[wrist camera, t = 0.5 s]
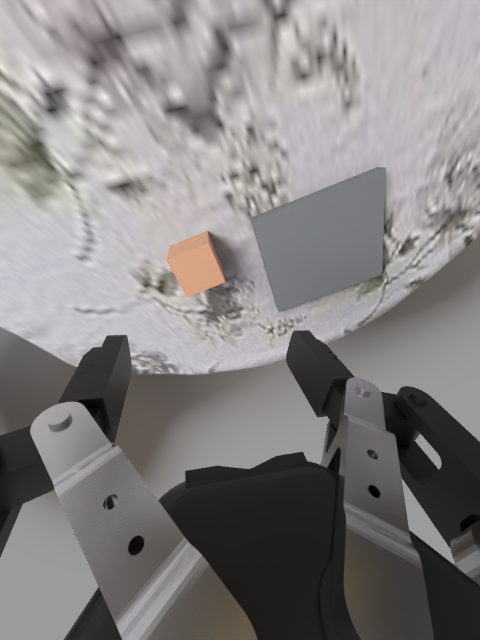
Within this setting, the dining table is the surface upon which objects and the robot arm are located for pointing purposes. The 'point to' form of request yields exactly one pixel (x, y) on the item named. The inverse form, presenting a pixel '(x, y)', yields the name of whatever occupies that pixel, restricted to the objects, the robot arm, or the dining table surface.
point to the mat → (324, 239)
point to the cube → (196, 264)
